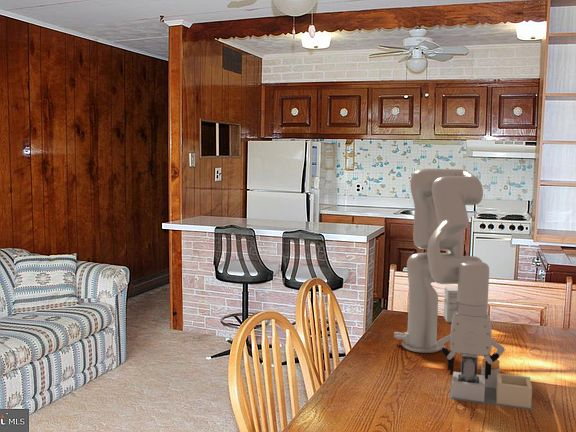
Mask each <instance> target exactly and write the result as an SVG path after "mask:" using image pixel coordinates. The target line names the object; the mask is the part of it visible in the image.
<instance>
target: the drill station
mask: <svg viewBox="0 0 576 432" xmlns="http://www.w3.org/2000/svg"><path fill="white" fill-rule="evenodd" d="M480 368H481V369H480V370H481V374H477V383H469V382H461V371H459V372H458V371H453V374H452V376H451V384H450V389H449V390H450V391H449V397H448V398H449V400H456V401H465V402H471V403H477V404H484V405H485V404H486V405H493V406H501V407H506V408H515V409H522V410H528V411H529V410H531V411H534V405H533V401H532V397H533V387H532V382H531V378H530V376H523V375H515V374H514V375H513V374H508V373H506V374H505V373H501V368H500V365H499V368H498V369H491V375H488V379H486V378H485V367H483V366H482V365H481V367H480Z"/></svg>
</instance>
